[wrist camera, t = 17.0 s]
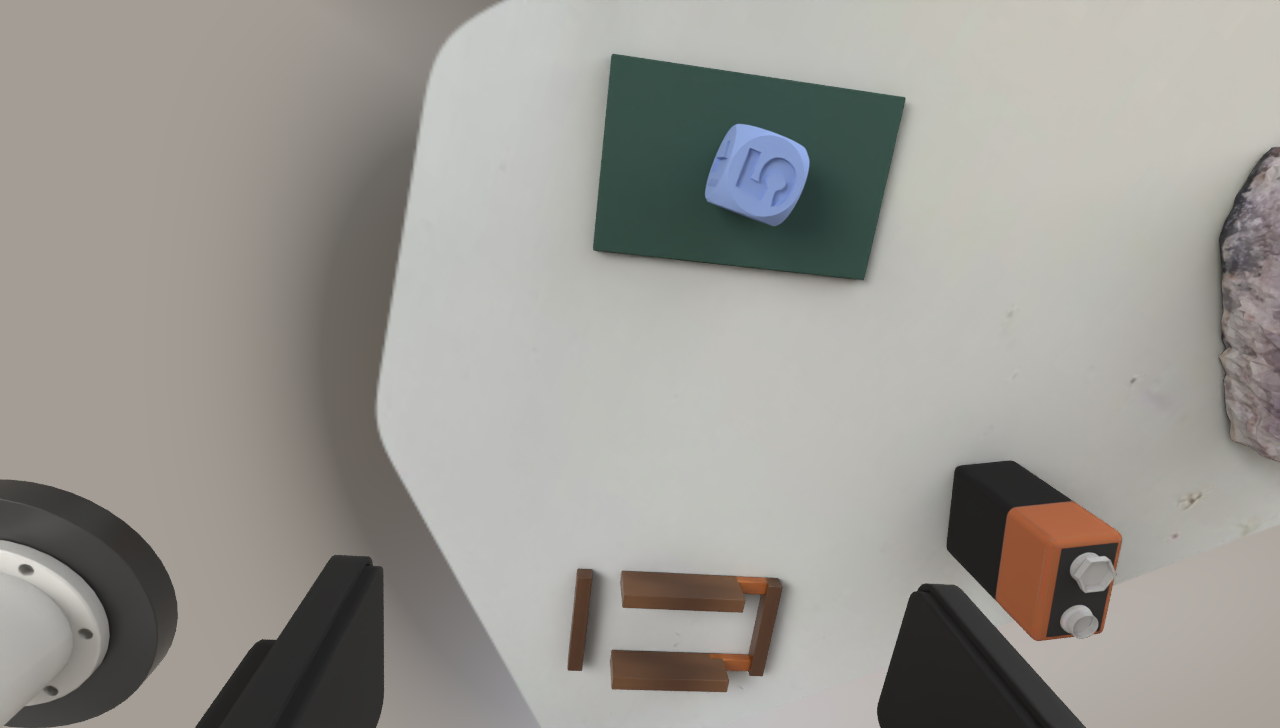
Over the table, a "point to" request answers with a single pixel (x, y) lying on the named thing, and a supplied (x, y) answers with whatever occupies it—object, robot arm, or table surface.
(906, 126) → the table surface
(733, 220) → the mat
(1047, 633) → the battery
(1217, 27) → the table surface
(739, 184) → the decorative dice
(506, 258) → the table surface
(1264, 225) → the geode
